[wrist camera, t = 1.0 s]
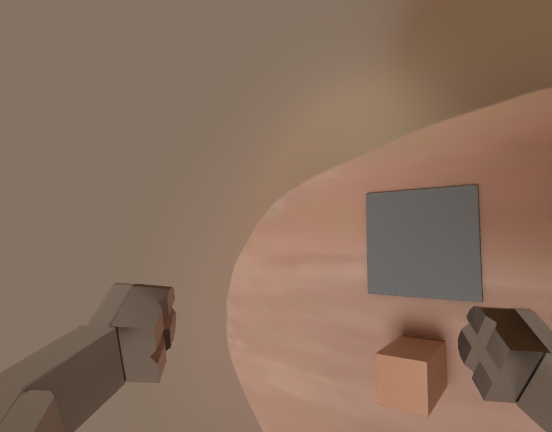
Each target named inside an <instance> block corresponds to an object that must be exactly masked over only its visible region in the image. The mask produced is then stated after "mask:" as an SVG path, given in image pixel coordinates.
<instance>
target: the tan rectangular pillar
mask: <svg viewBox="0 0 552 432" xmlns="http://www.w3.org/2000/svg"><path fill="white" fill-rule="evenodd" d="M375 358H376V404H378V405H382V406H386V407H390V408H394V409H398V410H402V411H406V412H411V413H415V414H419V415H423V416H427V417H429V415H430V413H431V412H432V410H433V408H434V407H435V405H436V404H437V402H438V400H439V399H440V397H441V395H442V394H443V392H444V390H445V389H446V387H447V375H446V345H445V342H443V341H436V340H428V339H421V338H413V337H406V336H401V337H399V338H398V339H396V340H395V341H393V342H392V343H390V344H389V345H387V346H386V347H384V348H383V349H381V350H380V351H378V352H377V353H375Z"/></svg>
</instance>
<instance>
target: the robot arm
mask: <svg viewBox="0 0 552 432" xmlns="http://www.w3.org/2000/svg"><path fill="white" fill-rule="evenodd" d="M174 300H175V295H174V289H173V288H172V287H167V286H156V285H144V284H130V283H115V284H113V285H112V286H111V288H110V289H109V291H108V293H107V294H106V296H105V297H104V299H103V301H102V302H101V304H100V305H99V307H98V309H97V310H96V312H95V313H94V315H93V317H92V318H91V320H90V322H89V323H88V325H87V326H83V325H81V326H79V327H77V328H76V329H74V330H72V331H71V332H69V333H67V334H65V335H64V336H62V337H60V338H59V339H57V340H55V341H53V342H52V343H50V344H48V345H47V346H45V347H43V348H42V349H40V350H38V351H37V352H35V353H33V354H31V355H30V356H28V357H26V358H24V359H23V360H21V361H19V362H18V363H16V364H14V365H13V366H11V367H9V368H8V369H6V370H4V371H2V372H1V373H0V432H74V431H76V430H77V429H78V428H79V427H80V426H81V425H82V424H83V423H84V422H85V421H86V420H87V419H88V418H89V417H90V416H91V415H92V414H93V413H95V412H96V410H98V409H99V408H100V407H101V406H102V405H103V404H104V403H105V402H106V401H107V400H108V399H109V398H110V397H111V396H112V395H113V394H115V393H116V392H117V391H118V390H119V389H120V388H121V387H122V386H123V385H124V384H125V382H154V383H158V382H160V379H161V376H162V373H163V370H164V367H165V364H166V351H167V350H168V349H169V348H170V347H171V345H172V342H173V339H174V333H175V327H176V312H175V311H174V310H173V308H172V305H173V303H174ZM467 320H468V322H469V324H468V325H467V326H465V327H464V328H462V329H461V332H460V334H459V337H458V350H459V354H460V357H461V359H462V361H463V363H464V364H465V365H466V366H467V367H469V368H470V369H471V370H472V371H474V372H473V376H472V379H473V381H474V383H475V385H476V387H477V389H478V390H479V392H480V394H481V396H482V398H483V399H484V401H496V402H508V403H517V406H518V407H519V408H520V409H522V410H523V411H524V412H525V413H526V414H527V415H528V416H529V417H530V418H531V419H533V420H534V421H535V422H536V423H537V424H538V425H539V426H540V427H541V428H542V429H544V430H545V431H546V432H552V331H551V330H550V328H549V327H548V326H547V325H546V324H545V323H544V322H543V321H542V319H541V318H540V317H539V316H538V315H537V314H536V313H535V312H534V311H532V310H530V309H525V308H496V307H479V306H473V307H472V308H471V309H470V310H469V312H468V315H467Z"/></svg>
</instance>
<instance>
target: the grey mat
mask: <svg viewBox="0 0 552 432" xmlns="http://www.w3.org/2000/svg"><path fill="white" fill-rule="evenodd" d="M366 211H367V269H368V294H381V295H394V296H407V297H420V298H433V299H447V300H460V301H473V302H483V294H482V270H481V246H480V222H479V198H478V185H468V186H456V187H443V188H431V189H418V190H406V191H393V192H381V193H368V194H366Z"/></svg>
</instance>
